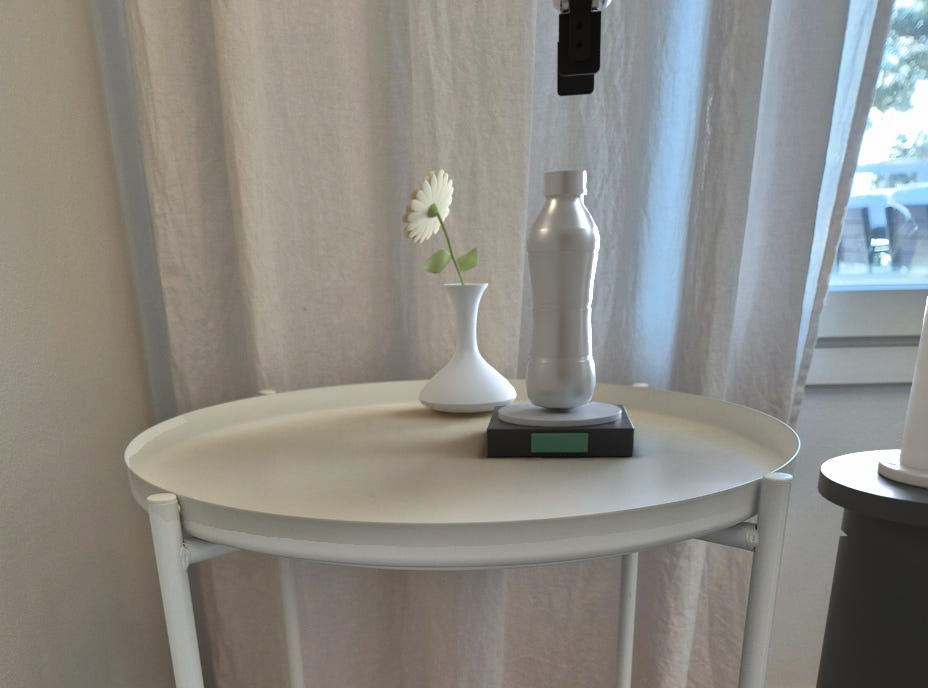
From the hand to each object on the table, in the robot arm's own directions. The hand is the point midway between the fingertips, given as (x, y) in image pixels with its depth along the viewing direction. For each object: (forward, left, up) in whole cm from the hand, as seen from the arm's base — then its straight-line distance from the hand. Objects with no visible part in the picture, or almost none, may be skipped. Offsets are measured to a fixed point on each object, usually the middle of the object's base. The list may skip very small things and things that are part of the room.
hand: (577, 85), depth 74 cm
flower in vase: (+12, -18, -30) cm, 37 cm away
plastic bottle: (+1, 0, -27) cm, 27 cm away
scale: (+1, 0, -30) cm, 30 cm away
